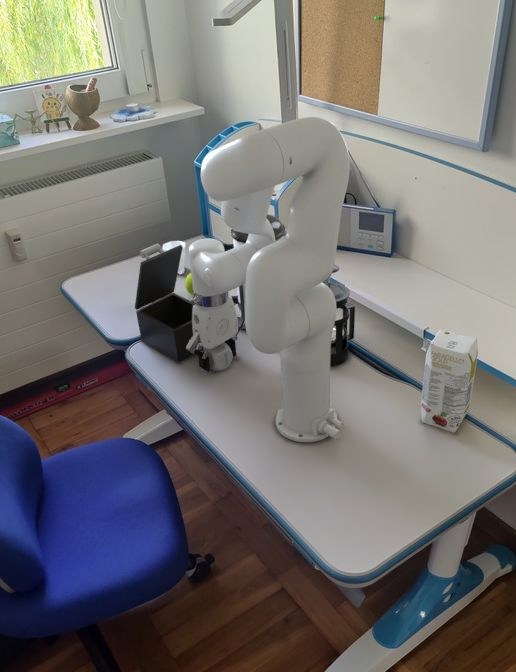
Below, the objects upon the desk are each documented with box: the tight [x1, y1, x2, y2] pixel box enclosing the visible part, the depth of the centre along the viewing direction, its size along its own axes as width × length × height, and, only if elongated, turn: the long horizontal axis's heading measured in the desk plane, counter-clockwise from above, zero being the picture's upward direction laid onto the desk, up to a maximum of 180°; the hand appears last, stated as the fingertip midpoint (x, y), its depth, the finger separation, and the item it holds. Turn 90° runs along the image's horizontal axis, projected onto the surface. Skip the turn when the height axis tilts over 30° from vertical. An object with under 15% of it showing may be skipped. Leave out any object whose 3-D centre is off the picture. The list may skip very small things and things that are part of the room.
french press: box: [323, 264, 356, 368], centre depth 148 cm, size 12×9×23 cm
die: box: [207, 342, 234, 372], centre depth 152 cm, size 5×5×5 cm
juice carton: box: [420, 328, 479, 433], centre depth 128 cm, size 8×9×19 cm
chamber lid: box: [134, 243, 183, 311], centre depth 157 cm, size 15×12×5 cm
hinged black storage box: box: [135, 292, 204, 364], centre depth 160 cm, size 15×12×9 cm
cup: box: [162, 240, 187, 275], centre depth 191 cm, size 7×10×8 cm
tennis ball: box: [184, 272, 194, 297], centre depth 180 cm, size 7×7×7 cm
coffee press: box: [222, 213, 287, 331], centre depth 160 cm, size 17×16×30 cm
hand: (218, 361), depth 153 cm, fingers open, 7 cm apart
